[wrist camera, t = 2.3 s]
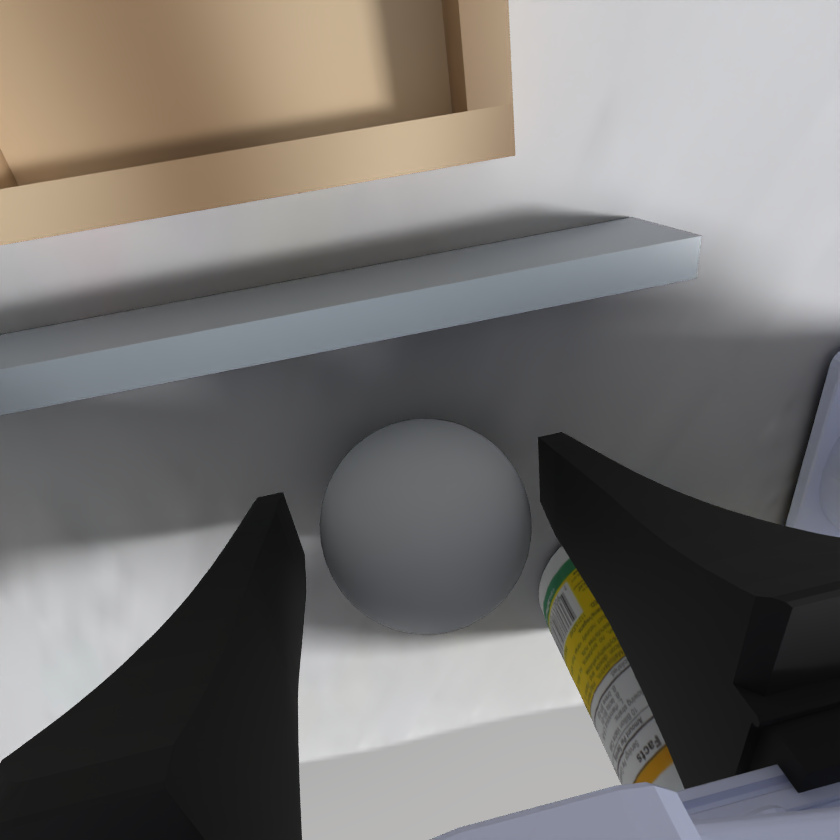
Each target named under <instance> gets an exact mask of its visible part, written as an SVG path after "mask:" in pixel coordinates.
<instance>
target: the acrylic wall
mask: <svg viewBox="0 0 840 840" xmlns="http://www.w3.org/2000/svg"><path fill="white" fill-rule="evenodd" d="M701 238H702V236H701V235H697V234H693V233H690V232H686V231H682V230H678V229H675V228H671V227H667V226H664V225H660V224H656V223H652V222H649V221H645V220H641V219H638V218H634V217H630V218H625V219H619V220H614V221H609V222H603V223H598V224H593V225H587V226H582V227H576V228H571V229H566V230H560V231H555V232H550V233H544V234H539V235H533V236H528V237H523V238H517V239H512V240H507V241H501V242H496V243H491V244H485V245H480V246H474V247H469V248H464V249H458V250H453V251H448V252H442V253H437V254H431V255H426V256H421V257H415V258H410V259H405V260H399V261H394V262H389V263H383V264H378V265H372V266H367V267H362V268H356V269H351V270H346V271H340V272H335V273H329V274H324V275H319V276H313V277H308V278H303V279H297V280H292V281H287V282H281V283H276V284H270V285H265V286H260V287H254V288H249V289H244V290H238V291H233V292H227V293H222V294H217V295H211V296H206V297H201V298H195V299H190V300H185V301H179V302H174V303H168V304H163V305H158V306H152V307H147V308H142V309H136V310H131V311H125V312H120V313H115V314H109V315H104V316H99V317H93V318H88V319H82V320H77V321H72V322H66V323H61V324H56V325H50V326H45V327H40V328H34V329H29V330H23V331H18V332H13V333H7V334H2V335H0V416H1V415H6V414H11V413H16V412H21V411H26V410H31V409H36V408H41V407H46V406H51V405H56V404H61V403H67V402H72V401H77V400H82V399H87V398H92V397H97V396H102V395H107V394H112V393H117V392H122V391H127V390H133V389H138V388H143V387H148V386H153V385H158V384H163V383H168V382H173V381H178V380H183V379H188V378H194V377H199V376H204V375H209V374H214V373H219V372H224V371H229V370H234V369H239V368H244V367H249V366H254V365H260V364H265V363H270V362H275V361H280V360H285V359H290V358H295V357H300V356H305V355H310V354H315V353H320V352H326V351H331V350H336V349H341V348H346V347H351V346H356V345H361V344H366V343H371V342H376V341H381V340H386V339H392V338H397V337H402V336H407V335H412V334H417V333H422V332H427V331H432V330H437V329H442V328H447V327H452V326H458V325H463V324H468V323H473V322H478V321H483V320H488V319H493V318H498V317H503V316H508V315H513V314H518V313H524V312H529V311H534V310H539V309H544V308H549V307H554V306H559V305H564V304H569V303H574V302H579V301H585V300H590V299H595V298H600V297H605V296H610V295H615V294H620V293H625V292H630V291H635V290H640V289H645V288H651V287H656V286H661V285H666V284H671V283H676V282H681V281H686V280H691V279H696V278H697V270H698V262H699V254H700V246H701Z"/></svg>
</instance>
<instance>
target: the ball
mask: <svg viewBox="0 0 840 840" xmlns="http://www.w3.org/2000/svg"><path fill="white" fill-rule="evenodd" d="M320 535H321V545H322V549H323V554H324V557H325V561H326V564H327V566H328V569H329V571H330V573H331V575H332V577H333V579H334V581H335V583H336V584H337V586H338V587H339V589H340V590H341V592H342V593H343V594H344V595H345V596H346V598H347V599H348V600H349V601H350V602H351V603H352V604H353V605H354V606H355V607H356V608H357V609H359V610H360V611H361V612H362V613H364V614H365V615H366V616H367V617H369V618H371V619H372V620H374V621H376V622H378V623H380V624H382V625H384V626H387V627H389V628H391V629H394V630H397V631H401V632H406V633H413V634H441V633H446V632H451V631H455V630H458V629H461V628H463V627H466V626H468V625H470V624H472V623H475V622H476V621H478V620H480V619H481V618H483V617H484V616H486V615H487V614H488V613H490V612H491V611H492V610H494V609H495V608H496V607H497V606H498V605H499V604H500V603H501V602H502V601H503V600H504V599H505V598H506V597H507V595H508V594H509V592H510V591H511V589H512V588H513V587H514V585H515V584H516V582H517V580H518V579H519V577H520V575H521V573H522V570H523V568H524V565H525V562H526V559H527V557H528V552H529V547H530V541H531V513H530V506H529V502H528V498H527V494H526V491H525V488H524V486H523V484H522V481H521V479H520V477H519V475H518V473H517V471H516V470H515V468H514V467H513V465H512V464H511V463H510V461H509V460H508V459H507V457H506V456H505V455H504V454H503V453H502V452H501V451H500V450H499V449H498V448H497V447H496V446H495V445H494V444H493V443H492V442H491V441H489V440H488V439H486V438H485V437H484V436H482V435H481V434H479V433H477V432H475V431H473V430H471V429H469V428H467V427H465V426H462V425H460V424H457V423H453V422H449V421H444V420H437V419H413V420H406V421H402V422H398V423H394V424H391V425H389V426H386V427H384V428H381V429H379V430H378V431H376V432H374V433H372V434H371V435H369V436H368V437H366V438H365V439H363V440H362V441H361V442H359V443H358V444H357V445H356V446H355V447H354V448H353V449H352V450H350V452H349V453H348V454H347V455H346V456H345V457H344V459H343V460H342V461H341V463H340V464H339V466H338V467H337V469H336V471H335V472H334V474H333V475H332V477H331V480H330V482H329V484H328V486H327V489H326V492H325V496H324V499H323V503H322V509H321V518H320Z"/></svg>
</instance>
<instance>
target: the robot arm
mask: <svg viewBox="0 0 840 840" xmlns="http://www.w3.org/2000/svg"><path fill="white" fill-rule="evenodd" d="M538 449H539V478H540V502H541V504H542V506H543V509H544V511H545V513H546V516H547V518H548V520H549V522H550V524H551V527H552V529H553V531H554V533H555V535H556V537H557V538H558V540H559V542H560V543H561V545H562V547H563V548H564V550H565V551H566V553H567V555H568V556H569V558H570V560H571V561H572V563H573V564H574V566H575V568H576V569H577V571H578V572H579V574H580V575H581V577H582V579H583V580H584V582H585V583H586V585H587V587H588V588H589V590H590V591H591V593H592V595H593V596H594V598H595V599H596V601H597V603H598V604H599V606H600V607H601V609H602V611H603V613H604V614H605V616H606V618H607V620H608V621H609V623H610V625H611V627H612V629H613V631H614V633H615V635H616V637H617V639H618V642H619V644H620V646H621V648H622V650H623V652H624V654H625V656H626V658H627V660H628V662H629V664H630V666H631V668H632V671H633V673H634V675H635V677H636V679H637V681H638V683H639V685H640V688H641V690H642V692H643V694H644V696H645V698H646V701H647V703H648V705H649V707H650V710H651V712H652V714H653V716H654V719H655V721H656V723H657V725H658V728H659V730H660V732H661V734H662V737H663V739H664V741H665V744H666V746H667V748H668V750H669V753H670V755H671V758H672V760H673V763H674V765H675V767H676V770H677V772H678V775H679V777H680V779H681V782H682V784H683V787H684V790H681V791H677V792H675V791H672V790H670V789H668V788H665V787H662V786H658V785H655V784H651V783H648V782H641V783H634V784H626V785H618V786H613V787H609V788H605V789H602V790H598V791H594V792H591V793H587V794H583V795H579V796H576V797H572V798H568V799H565V800H561V801H557V802H553V803H550V804H546V805H542V806H538V807H535V808H531V809H527V810H523V811H519V812H516V813H512V814H508V815H505V816H501V817H497V818H493V819H490V820H486V821H483V822H479V823H475V824H471V825H467V826H463V827H460V828H457V829H455V830H452V831H450V832H447V833H445V834H442V835H440V836H437V837H435V838H432V839H430V840H840V351H839V352H838V353H837V354H836V355H835V356H834V357H833V359H832V361H831V363H830V367H829V370H828V374H827V377H826V381H825V385H824V388H823V392H822V395H821V399H820V403H819V406H818V410H817V413H816V417H815V421H814V424H813V428H812V431H811V435H810V439H809V442H808V446H807V449H806V453H805V457H804V460H803V464H802V467H801V471H800V475H799V478H798V482H797V485H796V489H795V493H794V496H793V500H792V503H791V507H790V511H789V514H788V518H787V521H786V525H785V526H783V525H779V524H775V523H771V522H767V521H764V520H760V519H756V518H753V517H750V516H746V515H743V514H740V513H736V512H733V511H730V510H726V509H723V508H720V507H717V506H714V505H711V504H709V503H706V502H703V501H701V500H698V499H695V498H693V497H690V496H687V495H685V494H682V493H680V492H677V491H675V490H673V489H670V488H668V487H666V486H663V485H661V484H659V483H657V482H655V481H653V480H650V479H648V478H646V477H644V476H642V475H640V474H638V473H636V472H634V471H632V470H630V469H628V468H626V467H624V466H622V465H620V464H619V463H617V462H615V461H613V460H611V459H609V458H607V457H606V456H604V455H602V454H600V453H598V452H597V451H595V450H593V449H591V448H590V447H588V446H586V445H584V444H583V443H581V442H579V441H577V440H575V439H574V438H572V437H570V436H568V435H566V434H564V433H562V432H560V433H556V434H551V435H546V436H542V437H538ZM305 601H306V572H305V554H304V551H303V548H302V546H301V543H300V540H299V537H298V534H297V531H296V528H295V526H294V523H293V520H292V517H291V514H290V511H289V508H288V505H287V503H286V500H285V497H284V494H283V492H281V493H277V494H272V495H267V496H263V497H258V498H257V499H256V501H255V502H254V504H253V505H252V507H251V508H250V510H249V511H248V513H247V514H246V516H245V517H244V519H243V520H242V522H241V524H240V525H239V527H238V528H237V530H236V531H235V533H234V534H233V536H232V537H231V539H230V540H229V542H228V543H227V545H226V546H225V548H224V549H223V551H222V552H221V553H220V555H219V556H218V558H217V559H216V561H215V562H214V564H213V565H212V566H211V568H210V569H209V570H208V572H207V573H206V574H205V576H204V577H203V578H202V579H201V581H200V582H199V583H198V585H197V586H196V587H195V589H194V590H193V591H192V592H191V594H190V595H189V596H188V597H187V598H186V600H185V601H184V602H183V603H182V604H181V605H180V607H179V608H178V609H177V610H176V611H175V612H174V613H173V614H172V615H171V617H170V618H169V619H168V620H167V621H166V622H165V623H164V624H163V625H162V626H161V627H160V629H159V630H158V631H157V632H156V633H155V634H154V635H153V636H152V637H151V638H150V639H149V640H147V641H146V642H145V643H144V644H143V645H142V646H141V647H140V648H139V649H138V650H137V651H136V652H135V653H134V654H133V655H132V656H131V657H130V658H129V659H128V660H127V661H126V662H125V663H124V664H123V665H122V666H121V667H119V668H118V669H117V670H116V671H115V672H114V673H113V674H112V675H110V676H109V677H108V678H107V679H106V680H105V681H104V682H102V683H101V684H100V685H99V686H98V687H97V688H95V689H94V690H93V691H92V692H91V693H89V694H88V695H87V696H86V697H85V698H83V699H82V700H81V701H80V702H79V703H77V704H76V705H75V706H74V707H72V708H71V709H70V710H69V711H67V712H66V713H65V714H64V715H62V716H61V717H60V718H58V719H57V720H56V721H54V722H53V723H52V724H50V725H49V726H48V727H46V728H45V729H44V730H42V731H41V732H40V733H38V734H37V735H36V736H34V737H33V738H32V739H30V740H29V741H28V742H26V743H25V744H24V745H22V746H21V747H20V748H18V749H17V750H16V751H14V752H13V753H11V754H10V755H9V756H7V757H6V758H4V759H3V760H2V761H1V763H0V840H302V831H301V808H300V784H299V748H298V683H299V670H300V659H301V648H302V636H303V625H304V613H305Z"/></svg>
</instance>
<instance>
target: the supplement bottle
mask: <svg viewBox="0 0 840 840" xmlns="http://www.w3.org/2000/svg"><path fill="white" fill-rule="evenodd" d="M539 602H540V607H541V610H542V613H543V615H544V618H545V620H546V622H547V625H548V627H549V630H550V632H551V634H552V636H553V638H554V640H555V642H556V645H557V647H558V649H559V651H560V653H561V655H562V657H563V659H564V661H565V664H566V666H567V668H568V670H569V672H570V674H571V676H572V678H573V680H574V682H575V684H576V687H577V689H578V691H579V693H580V695H581V697H582V699H583V702H584V704H585V706H586V708H587V710H588V712H589V714H590V716H591V718H592V721H593V723H594V726H595V728H596V730H597V732H598V734H599V737H600V739H601V741H602V743H603V745H604V747H605V750H606V752H607V754H608V756H609V758H610V761H611V763H612V765H613V767H614V769H615V771H616V774H617V776H618V778H619V780H620V782H621V784H622V785H626V784H634V783H641V782H648V783H651V784H655V785H658V786H662V787H665V788H668V789H670V790H672V791H675V792H677V791H681V790H684V787H683V784H682V782H681V779H680V777H679V775H678V772H677V770H676V767H675V765H674V763H673V760H672V758H671V755H670V753H669V750H668V748H667V746H666V744H665V741H664V739H663V737H662V734H661V732H660V730H659V728H658V725H657V723H656V721H655V719H654V716H653V714H652V712H651V710H650V707H649V705H648V703H647V701H646V698H645V696H644V694H643V692H642V690H641V688H640V685H639V683H638V681H637V679H636V677H635V675H634V673H633V671H632V668H631V666H630V664H629V662H628V660H627V658H626V656H625V654H624V652H623V650H622V648H621V646H620V644H619V642H618V639H617V637H616V635H615V633H614V631H613V629H612V627H611V625H610V623H609V621H608V620H607V618H606V616H605V614H604V613H603V611H602V609H601V607H600V606H599V604H598V603H597V601H596V599H595V598H594V596H593V595H592V593H591V591H590V590H589V588H588V587H587V585H586V583H585V582H584V580H583V579H582V577H581V575H580V574H579V572H578V571H577V569H576V568H575V566H574V564H573V563H572V561H571V560H570V558H569V556H568V555H567V553H566V551H565V550H564V548H563V547H562V546H561V547H560V548H559V549H558V550H557V551H556V553H555V554H554V555H553V556H552V558H551V559H550V561H549V563H548V564H547V566H546V568H545V570H544V572H543V575H542V577H541V581H540V585H539Z"/></svg>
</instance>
